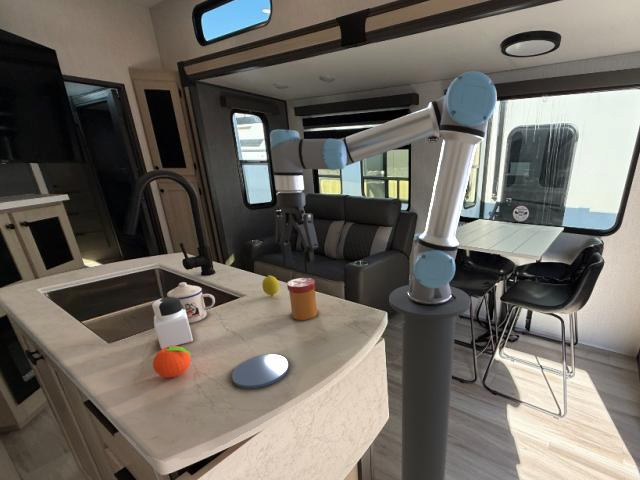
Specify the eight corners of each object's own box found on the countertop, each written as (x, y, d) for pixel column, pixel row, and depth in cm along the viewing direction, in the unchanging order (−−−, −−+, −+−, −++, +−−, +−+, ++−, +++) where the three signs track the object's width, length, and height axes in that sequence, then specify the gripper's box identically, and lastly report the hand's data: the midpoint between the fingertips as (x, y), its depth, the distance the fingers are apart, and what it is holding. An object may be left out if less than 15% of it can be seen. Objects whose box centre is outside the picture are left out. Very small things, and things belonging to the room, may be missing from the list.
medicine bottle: (190, 331, 91) (180, 292, 87) (193, 341, 86) (182, 300, 82) (160, 338, 87) (148, 298, 83) (161, 349, 82) (148, 307, 78)
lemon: (260, 297, 114) (257, 277, 112) (271, 292, 119) (268, 272, 116) (273, 299, 113) (270, 278, 110) (283, 294, 118) (280, 273, 115)
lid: (320, 286, 99) (320, 280, 99) (300, 294, 93) (299, 288, 92) (303, 281, 104) (302, 276, 103) (282, 289, 97) (281, 283, 97)
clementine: (203, 364, 76) (197, 338, 74) (190, 382, 70) (182, 354, 67) (167, 366, 75) (159, 340, 73) (150, 385, 69) (141, 357, 66)
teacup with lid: (169, 326, 94) (159, 290, 90) (178, 314, 102) (169, 280, 98) (215, 320, 98) (207, 285, 94) (220, 308, 106) (213, 275, 102)
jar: (322, 313, 103) (319, 282, 99) (303, 322, 97) (299, 289, 93) (306, 307, 107) (302, 278, 103) (287, 316, 101) (283, 284, 97)
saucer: (299, 367, 75) (299, 364, 75) (253, 396, 66) (252, 392, 65) (267, 351, 81) (267, 349, 81) (221, 376, 72) (221, 373, 72)
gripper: (328, 192, 86) (333, 272, 94) (277, 189, 97) (286, 260, 105) (306, 194, 80) (314, 279, 88) (255, 190, 91) (266, 265, 99)
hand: (298, 268), depth 96 cm, fingers open, 9 cm apart
